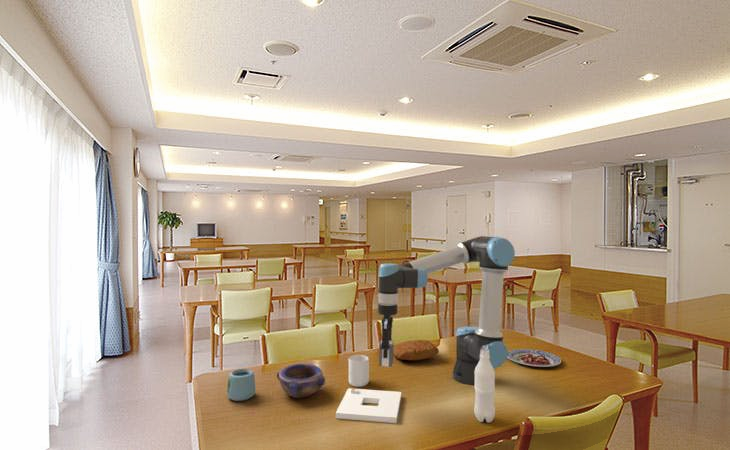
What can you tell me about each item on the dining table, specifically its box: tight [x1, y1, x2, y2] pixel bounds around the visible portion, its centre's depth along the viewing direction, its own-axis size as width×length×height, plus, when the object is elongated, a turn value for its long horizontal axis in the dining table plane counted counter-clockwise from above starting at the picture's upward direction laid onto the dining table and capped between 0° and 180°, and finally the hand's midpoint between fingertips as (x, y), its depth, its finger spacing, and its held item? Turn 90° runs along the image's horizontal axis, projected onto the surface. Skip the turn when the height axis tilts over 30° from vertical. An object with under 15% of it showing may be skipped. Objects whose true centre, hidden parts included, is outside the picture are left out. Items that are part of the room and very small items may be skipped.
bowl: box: [276, 362, 326, 399], centre depth 170 cm, size 18×18×10 cm
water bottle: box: [473, 349, 496, 424], centre depth 148 cm, size 7×7×25 cm
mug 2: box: [348, 354, 370, 388], centre depth 182 cm, size 12×9×11 cm
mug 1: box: [226, 368, 257, 402], centre depth 169 cm, size 15×11×10 cm
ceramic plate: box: [507, 348, 562, 368], centre depth 210 cm, size 26×26×3 cm
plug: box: [378, 339, 395, 368], centre depth 160 cm, size 5×5×9 cm
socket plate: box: [335, 388, 402, 424], centre depth 158 cm, size 22×22×3 cm
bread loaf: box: [393, 339, 440, 361], centre depth 213 cm, size 22×17×8 cm
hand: (386, 363), depth 160 cm, fingers closed on plug, 5 cm apart
